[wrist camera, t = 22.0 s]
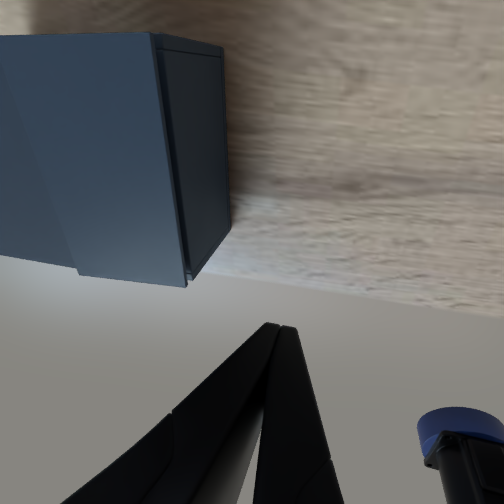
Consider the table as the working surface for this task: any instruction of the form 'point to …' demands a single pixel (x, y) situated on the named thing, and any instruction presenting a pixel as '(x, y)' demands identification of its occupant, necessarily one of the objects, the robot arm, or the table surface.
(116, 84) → the box lid
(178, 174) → the carton
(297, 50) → the table surface
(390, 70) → the table surface
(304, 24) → the table surface
